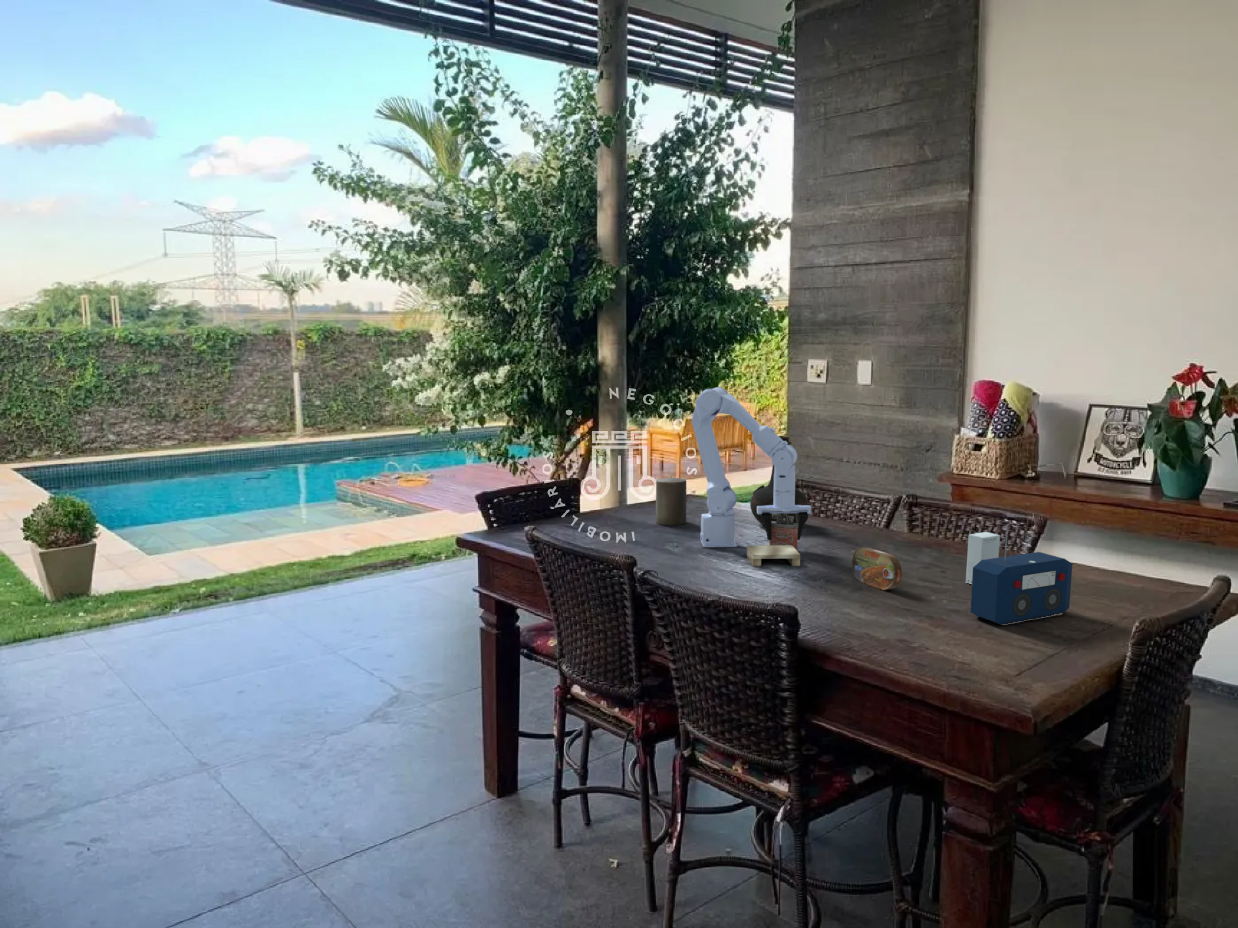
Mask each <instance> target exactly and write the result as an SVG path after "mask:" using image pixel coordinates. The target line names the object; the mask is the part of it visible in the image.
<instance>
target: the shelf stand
mask: <svg viewBox="0 0 1238 928" xmlns="http://www.w3.org/2000/svg"><path fill="white" fill-rule="evenodd" d="M746 557H747V559H748V560H749V562H750V564H751V565H752V567H761V566H762V560H764V559H765V560H766V559H769V560H770V559H777V560H778V559H786V560H787V562H788V563H789V564H790V565H791V567H800V566H801V554H800V553H799V550H798V551H797V550H796V549H795V548H794V547H793V546H792V545H770V544H769V545H746Z"/></svg>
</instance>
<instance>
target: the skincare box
mask: <svg viewBox="0 0 1238 928" xmlns="http://www.w3.org/2000/svg"><path fill="white" fill-rule="evenodd" d="M1000 540H1001V535H1000V534H995V533H993V532H989V531H984V532H983V531H982V532H976V533H970V534H968V539H967V541H968V542H967V556H966V573H965V584H966V583H969V584H972V575H973V567H974V566H975V565H977V564H978V563H979V562H980V561H981V560H985V559H992V558H999V554H1000V543H1001V541H1000ZM969 584H968V585H969Z"/></svg>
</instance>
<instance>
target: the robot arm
mask: <svg viewBox="0 0 1238 928" xmlns="http://www.w3.org/2000/svg"><path fill="white" fill-rule="evenodd" d="M718 414H722V415H729V416H732V418H734V419H735V420H736V421H737V422H738V423H739V424H740V425H742V427H744V429H746V430H747V431H748V432H749V433H750V434H751V435H752V442H754V444H755V445H756V446H757V447H759V449H761V451H762V452H763V453H765V455H766V456H767V457H769V458H771V463H772V466H773V465H774V498H773V505H767V506H757V514H760V516H761V518H762V521H763V523H764V525H763V526H764V529H765V533H766V539H767V541H770V540H771V520H772V518H771V515H770V514H780V513H796V524H798V537H797V541H800V540H801V535H802V533H803V529H804V527H805V524H806V523H807V521H808V520H809V514H810V515H811V514H812V506H811V505H810V504H809V505H795V487H796V463H797V460H798V453H797V450H796V449H795V447H794V446H792V445H791V444H790V445H787V444H788V443H787V442H786V441H783V440H782V439H781V438H780V437H779V436H780V435H778V434H777V433H776V429H775V428H774V427H769V426H768V425H762V424H760V423H759V422H758V421H757V420H756V419H755V418H754V417H753V415H751V413H749V412H748V410H746V408H745V407H744V406H743V405H742V404H741V403H740V402H739V400H737V399H736V398H735V396H734V395H732V394H731V393H728V391H727V390H726V389H725V388H723V387H719V386H717V387H712V388H706V389H704V390H702V392H700V394H699V395H698V397H696V399H695V406H694V410H693V414H692V418H691V424H692V428H693V431H694V435H695V439H696V443H697V448H698V450H699V455H700V458H701V459H700V460H701V462H702V466H703V470H704V473H705V478H706V481H707V483H706V484H707V485H706V495H707V499H706V507H707V509H708V512H707V513H702V514H701V516H700V534H699V538H700V539H699V540H700V543H701V545H702V547H703V548H737V547H738V544H737V543H736V541H735V510H734V507H735V505H736V504H737V501H738V499H737V497H738V496H737V494H736V492H735V491H734V489H733V488H732V487H731V482H730V481H729V480H728V479H727V478H726V473H725V469H724V467H723V463H722V459H721V455H720V452H719V448H718V447H719V446H718V444H717V439H716V436H715V433H714V428H713V425H712V423H713V421H714V419H716V418H717V415H718Z"/></svg>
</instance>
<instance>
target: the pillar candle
mask: <svg viewBox="0 0 1238 928" xmlns="http://www.w3.org/2000/svg"><path fill="white" fill-rule="evenodd" d="M655 522H656V524H658V525H663V526H673V527H674V526H680V525H683V524H684V525H686V524H687V479H686V478H682V477H681V478H678V477H672V475H671V476H670V477H664V478H657V479H655Z"/></svg>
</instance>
